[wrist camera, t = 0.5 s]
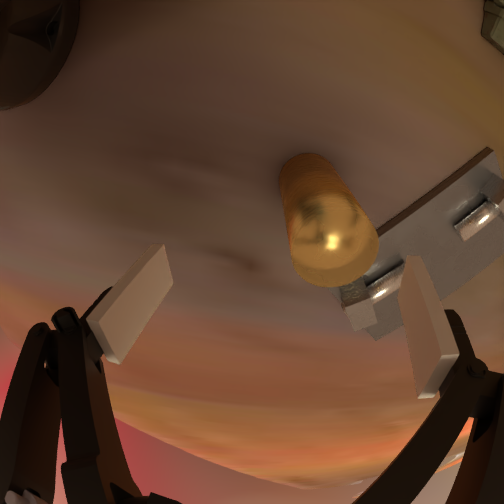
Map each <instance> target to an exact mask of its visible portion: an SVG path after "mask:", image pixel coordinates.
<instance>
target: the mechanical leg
mask: <svg viewBox="0 0 504 504" xmlns="http://www.w3.org/2000/svg"><path fill="white" fill-rule="evenodd" d="M484 11H485V16H484V22H483V28H482V36H483V37H484V38H486V39H487V40H488V41H489V42H490V43H491V44H492V45H494V46H495V47H496V48H497V49H498V50H499V51H501V52H502V53H503V54H504V0H487V1H486V3H485V6H484Z"/></svg>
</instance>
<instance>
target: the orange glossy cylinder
mask: <svg viewBox="0 0 504 504" xmlns="http://www.w3.org/2000/svg"><path fill="white" fill-rule="evenodd" d="M279 186H280V191H281V197H282V203H283V209H284V215H285V221H286V227H287V233H288V239H289V245H290V251H291V258H292V263H293V266H294V268H295V270H296V272H297V273H298V274H299V275H300V276H301V277H302V278H303V279H304V280H306V281H307V282H309V283H311V284H313V285H316V286H320V287H338V286H343V285H346V284H349V283H351V282H353V281H355V280H357V279H358V278H360V277H361V276H362V275H364V274H365V273H366V272H367V271H368V270H369V268H370V267H371V266H372V264H373V263H374V261H375V259H376V257H377V253H378V249H379V240H378V235H377V232H376V230H375V228H374V226H373V225H372V223H371V222H370V220H369V219H368V217H367V216H366V214H365V212H364V211H363V209H362V208H361V206H360V205H359V203H358V202H357V200H356V199H355V197H354V196H353V195H352V193H351V192H350V190H349V189H348V187H347V186H346V184H345V183H344V182H343V180H342V179H341V177H340V176H339V174H338V173H337V172H336V170H335V169H334V168H333V166H332V165H331V164H330V162H329V161H328V160H327V159H325V158H324V157H322V156H320V155H317V154H313V153H304V154H300V155H297V156H295V157H293V158H291V159H290V160H289V161H288V162H287V163H286V164H285V165H284V166H283V168H282V170H281V173H280V176H279Z"/></svg>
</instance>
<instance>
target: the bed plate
mask: <svg viewBox="0 0 504 504" xmlns="http://www.w3.org/2000/svg"><path fill="white" fill-rule="evenodd" d="M376 232H377V235H378V240H379V249H378V253H377V257H376V259H375V261H374V263H373V264H372V266H371V267H370V268H369V270H368V271H367V272H366V273H365V274H364V275H362V276H361V277H360V278H358V279H357V280H355V281H353V282H351V283H349V284H346V285H343V286H338V287H327V288H328V289H329V290H330V291H331V293H332V294H333V295H334V296H335V297H336V298H337V299H338V300H339V301H340V302H341V306H342V308H343V311H344V312H345V314H346V315H347V317H348V318H349V319H350V322H351V325H352V327H353V330H354V332H355V331H358V330H360V329H363V328H365V330H366V331H367V332H368V333H369V334H370V335H371V336H372V337H373V338H374V340H375V341H376V340H378V339H380V338H381V337H383V336H385V335H387V334H388V333H390V332H392V331H394V330H395V329H397V328H399V327H400V326H402V325H404V324H403V320H402V315H401V311H400V307H399V303H398V299H397V297H398V293H399V289H400V285H401V280H402V276H403V272H404V267H405V263H406V258H407V255H413V256H421V258H422V260H423V262H424V265H425V267H426V269H427V271H428V273H429V276H430V278H431V280H432V282H433V285H434V287H435V289H436V292H437V294H438V297H439V299H440V301H441V300H442V299H444V298H445V297H447V296H448V295H450V294H451V293H452V292H454V291H455V290H457V289H458V288H459V287H461V286H462V285H463V284H465V283H466V282H468V281H469V280H470V279H472V278H473V277H474V276H476V275H477V274H478V273H479V272H481V271H482V270H483V269H485V268H486V267H487V266H488V265H490V264H491V263H492V262H493V261H495V260H496V259H497V258H498V257H499V256H501V255H502V254H503V253H504V180H503V179H502V175H501V171H500V168H499V165H498V161H497V158H496V155H495V152H494V150H492V149H490V148H488V147H487V148H485V149H484V150H483V151H482V152H480V153H479V154H478V155H477V156H475V157H474V158H473V159H472V160H470V161H469V162H468V163H466V164H465V165H464V166H463V167H461V168H460V169H459V170H457V171H456V172H455V173H454V174H452V175H451V176H450V177H448V178H447V179H446V180H444V181H443V182H442V183H440V184H439V185H438V186H436V187H435V188H434V189H432V190H431V191H430V192H428V193H427V194H426V195H424V196H423V197H422V198H420V199H419V200H418V201H416V202H415V203H414V204H412V205H411V206H409V207H408V208H407V209H405V210H404V211H403V212H401V213H400V214H398V215H397V216H396V217H394V218H393V219H391V220H390V221H389V222H387V223H386V224H384V225H383V226H381V227H380V228H379V229H377V230H376Z"/></svg>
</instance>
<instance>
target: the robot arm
mask: <svg viewBox="0 0 504 504" xmlns="http://www.w3.org/2000/svg"><path fill="white" fill-rule="evenodd" d="M78 18H79V0H0V111H3V110H8V109H11V108H14V107H17V106H20V105H23V104H26V103H28V102H30V101H31V100H33V99H35V98H36V97H37V96H38V95H40V94H41V93H42V92H43V91H44V90H45V89H46V88H47V87H48V86H49V85H50V83H51V82H52V81H53V80H54V78H55V77H56V76H57V74H58V72H59V71H60V69H61V68H62V66H63V64H64V62H65V60H66V58H67V56H68V54H69V51H70V49H71V46H72V44H73V41H74V38H75V34H76V30H77V25H78ZM173 284H174V283H173V279H172V275H171V271H170V267H169V263H168V259H167V255H166V251H165V246H164V244H152V245H151V246H150V247H149V248H148V249H147V250H146V251H145V252H144V253H143V254H142V256H141V257H140V258H139V259H138V260H137V261H136V262H135V263H134V264H133V265H132V266H131V268H130V269H129V270H128V271H127V272H126V273H125V274H124V275H123V276H122V277H121V279H120V280H119V281H118V282H117V283H116V284H115V285H114V287H110V288H108V289H107V290H105V291H104V292H103V293H102V294H101V295H100V296H99V297H98V299H96V300H95V302H94V303H93V305H91V306H90V307H89V309H88V310H87V311H86V312H85V313H84V314H83V316H82V317H81V318H80V319H79V318H78V316H77V314H76V312H75V310H74V309H73V308H72V307H65V308H62V309H60V310H58V311H57V312H55V313H54V315H53V316H52V319H51V321H52V322H53V324H54V326H55V328H56V330H51V329H50V328H49V326H48V324H47V323H45V322H41V323H37V324H36V325H34V326H33V327H32V328H31V329H30V330H29V332H28V335H27V337H26V340H25V342H24V345H23V347H22V350H21V353H20V356H19V358H18V361H17V365H16V367H15V370H14V373H13V376H12V379H11V382H10V386H9V389H8V392H7V396H6V400H5V403H4V407H3V411H2V414H1V419H0V504H53V499H54V493H55V477H56V460H57V448H58V438H59V430H60V422H61V420H62V428H63V437H64V444H65V451H66V457H67V461H66V462H65V463H62V465H61V474H62V479H63V484H64V489H65V494H66V498H67V502H68V504H182V503H180V502H178V501H176V500H172V499H169V498H166V497H163V496H160V495H158V494H155V493H152V492H151V493H150V495H149V496H142V494H141V492H140V490H139V488H138V487H137V485H136V484H135V483H134V481H133V479H132V477H131V474H130V471H129V468H128V465H127V462H126V459H125V455H124V452H123V449H122V445H121V442H120V438H119V435H118V431H117V427H116V424H115V419H114V415H113V411H112V407H111V403H110V398H109V393H108V389H107V384H106V378H105V373H104V368H103V362H102V360H101V358H100V357H101V356H102V354H103V353H104V354H105V356H106V358H107V360H108V361H110V362H113V363H117V364H121V363H122V361H123V360H124V358H125V357H126V355H127V353H128V352H129V350H130V349H131V347H132V346H133V344H134V342H135V341H136V339H137V338H138V336H139V335H140V333H141V332H142V330H143V329H144V327H145V326H146V324H147V323H148V321H149V320H150V318H151V317H152V315H153V313H154V312H155V310H156V309H157V308H158V306H159V305H160V303H161V302H162V300H163V299H164V297H165V296H166V294H167V293H168V291H169V290H170V288H171V287H172V285H173ZM397 299H398V303H399V307H400V311H401V315H402V320H403V324H404V328H405V333H406V337H407V342H408V347H409V352H410V357H411V362H412V368H413V373H414V379H415V385H416V392H417V398H418V399H419V398H433V397H434V396H435V395H436V393H437V391H438V390H439V392H440V399H439V400H438V402H437V403H436V405H435V406H434V407H433V409H432V411H431V412H430V414H429V415H428V417H427V418H426V419H425V421H424V422H423V424H422V425H421V426H420V428H419V429H418V430H417V432H416V433H415V434H414V436H413V437H412V438H411V439H410V441H409V442H408V443H407V445H406V446H405V447H404V448H403V449H402V451H401V452H400V453H399V454H398V455H397V457H396V458H395V459H394V460H393V461H392V462H391V464H390V465H389V466H388V467H387V468H386V469H385V470H384V471H383V473H382V474H381V475H380V476H379V477H378V478H377V479H376V480H375V481H374V482H373V483H372V484H371V485H370V486H369V488H367V489H366V491H364V492H363V493H362V494H361V495H360V496H359V497H358V498H357V499H356V500H355V501H354V502H353V503H352V504H411V502H412V501H413V500H414V499H415V498H416V496H417V495H418V494H419V493H420V491H421V490H422V489H423V487H424V486H425V485H426V484H427V482H428V481H429V480H430V478H431V477H432V475H433V474H434V473H435V471H436V470H437V468H438V467H439V465H440V464H441V462H442V461H443V459H444V458H445V456H446V455H447V453H448V452H449V450H450V449H451V447H452V445H453V444H454V442H455V441H456V439H457V437H458V436H459V434H460V432H461V430H462V429H463V427H464V425H465V423H466V421H467V420H468V418H469V417H473V418H474V421H473V425H472V429H471V432H470V436H469V440H468V443H467V446H466V450H465V453H464V456H463V459H462V462H461V465H460V468H459V471H458V474H457V476H456V479H455V482H454V484H453V487H452V489H451V492H450V494H449V496H448V499H447V501H446V503H445V504H504V374H501V373H497V372H492V371H489V370H488V367H487V366H486V364H485V363H484V362H483V361H481V360H480V359H477V358H476V357H475V354H474V351H473V348H472V346H471V343H470V340H469V338H468V335H467V334H466V330H465V328H464V325H463V323H462V320H461V318H460V316H459V315H458V314H457V313H456V312H455V311H454V310H444V309H443V306H442V304H441V301H440V299H439V297H438V294H437V292H436V289H435V287H434V285H433V282H432V280H431V278H430V276H429V273H428V271H427V269H426V267H425V265H424V262H423V260H422V258H421V256H413V255H407V258H406V263H405V267H404V272H403V276H402V280H401V285H400V289H399V293H398V297H397ZM44 362H45V363H46V367H45V368H44Z"/></svg>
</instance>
